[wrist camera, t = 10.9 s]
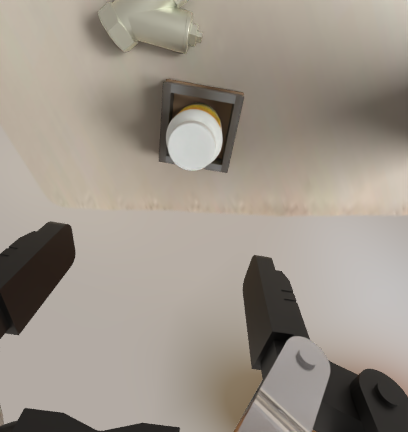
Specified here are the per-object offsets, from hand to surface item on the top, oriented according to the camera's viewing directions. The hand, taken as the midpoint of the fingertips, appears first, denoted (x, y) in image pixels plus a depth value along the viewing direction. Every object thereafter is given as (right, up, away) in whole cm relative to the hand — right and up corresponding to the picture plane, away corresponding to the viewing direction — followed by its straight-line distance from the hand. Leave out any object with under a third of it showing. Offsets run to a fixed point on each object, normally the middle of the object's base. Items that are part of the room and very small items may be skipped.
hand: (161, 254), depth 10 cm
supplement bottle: (+1, +12, +17) cm, 21 cm away
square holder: (+1, +13, +18) cm, 22 cm away
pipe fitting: (-3, +21, +14) cm, 25 cm away
